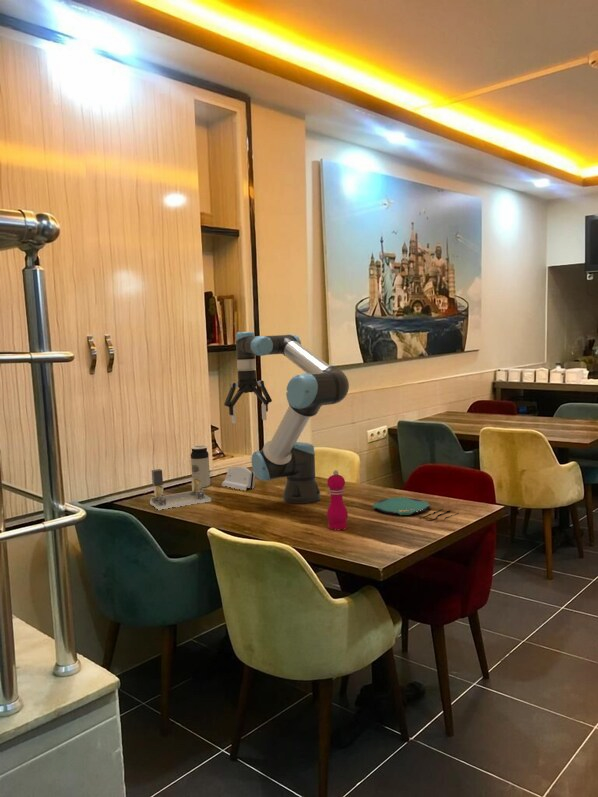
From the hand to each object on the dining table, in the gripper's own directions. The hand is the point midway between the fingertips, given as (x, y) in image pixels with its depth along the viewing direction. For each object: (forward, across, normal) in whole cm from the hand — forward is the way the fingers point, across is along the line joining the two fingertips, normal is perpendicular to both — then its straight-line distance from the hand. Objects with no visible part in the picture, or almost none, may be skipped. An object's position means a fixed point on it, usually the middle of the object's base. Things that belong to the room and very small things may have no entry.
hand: (249, 421), depth 263 cm
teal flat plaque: (+32, -40, +55) cm, 75 cm away
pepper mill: (+32, -7, +56) cm, 65 cm away
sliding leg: (+28, +36, -11) cm, 47 cm away
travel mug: (+32, +11, -33) cm, 47 cm away
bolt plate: (+32, +28, -10) cm, 43 cm away
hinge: (+32, -3, -21) cm, 38 cm away
